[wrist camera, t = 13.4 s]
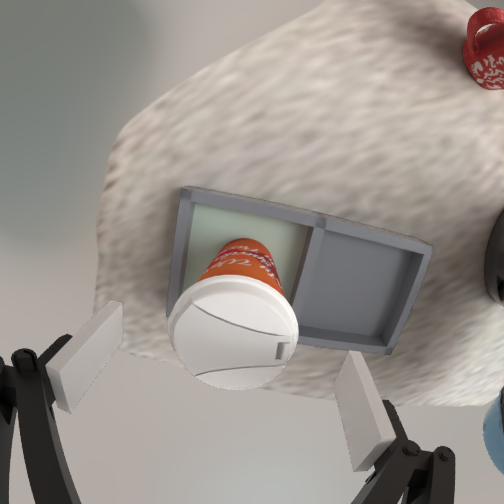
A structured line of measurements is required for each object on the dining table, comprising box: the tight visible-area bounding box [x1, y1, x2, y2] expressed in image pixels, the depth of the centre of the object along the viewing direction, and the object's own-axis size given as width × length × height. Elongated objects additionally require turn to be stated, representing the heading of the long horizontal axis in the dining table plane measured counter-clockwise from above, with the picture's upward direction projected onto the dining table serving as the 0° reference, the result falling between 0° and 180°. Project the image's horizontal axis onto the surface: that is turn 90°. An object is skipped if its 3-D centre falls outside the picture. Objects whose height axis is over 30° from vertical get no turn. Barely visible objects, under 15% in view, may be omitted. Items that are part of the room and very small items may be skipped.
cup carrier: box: [166, 186, 434, 355], centre depth 28 cm, size 25×13×3 cm, turn 78°
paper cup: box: [168, 238, 299, 390], centre depth 22 cm, size 8×8×14 cm
